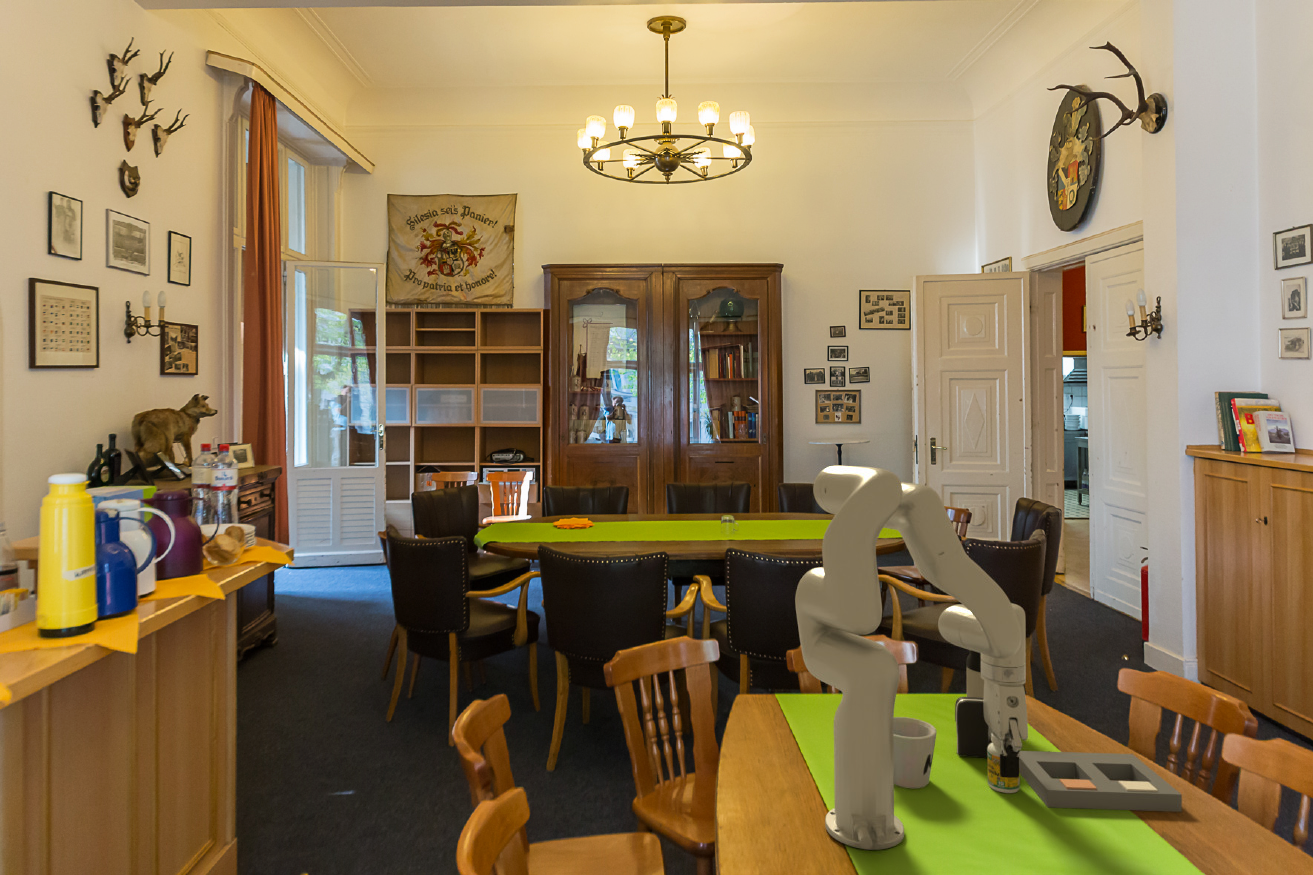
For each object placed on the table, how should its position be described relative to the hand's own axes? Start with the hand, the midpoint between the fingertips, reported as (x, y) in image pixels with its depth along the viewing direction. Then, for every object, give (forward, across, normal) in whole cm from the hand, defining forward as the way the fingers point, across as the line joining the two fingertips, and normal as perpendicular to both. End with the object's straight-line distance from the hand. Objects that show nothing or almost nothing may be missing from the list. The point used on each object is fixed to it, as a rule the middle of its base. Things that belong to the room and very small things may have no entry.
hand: (1003, 768), depth 140 cm
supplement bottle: (+4, 0, 0) cm, 4 cm away
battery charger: (+4, +14, +1) cm, 15 cm away
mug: (+4, +2, +19) cm, 19 cm away
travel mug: (+4, +28, -6) cm, 29 cm away
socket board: (+3, +1, -16) cm, 16 cm away
